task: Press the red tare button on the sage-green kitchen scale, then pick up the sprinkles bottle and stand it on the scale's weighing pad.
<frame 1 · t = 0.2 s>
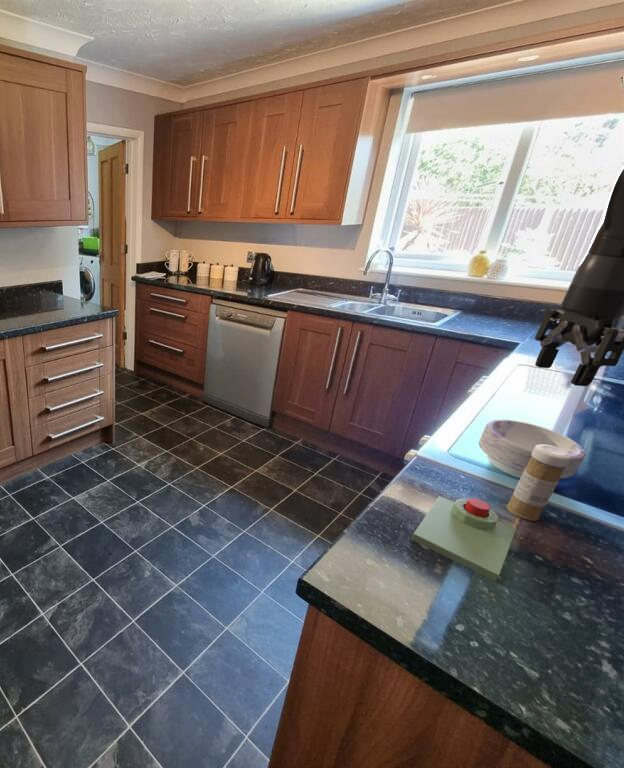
hand: (559, 375, 75), 23 cm above the countertop, tool pointing down, fingers open, 8 cm apart
sprinkles bottle: (521, 514, 77), on the countertop
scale: (462, 537, 71), on the countertop
paper bowls: (517, 469, 90), on the countertop
tare button: (477, 507, 72), point 4 cm above the countertop, slide at 0.1 cm
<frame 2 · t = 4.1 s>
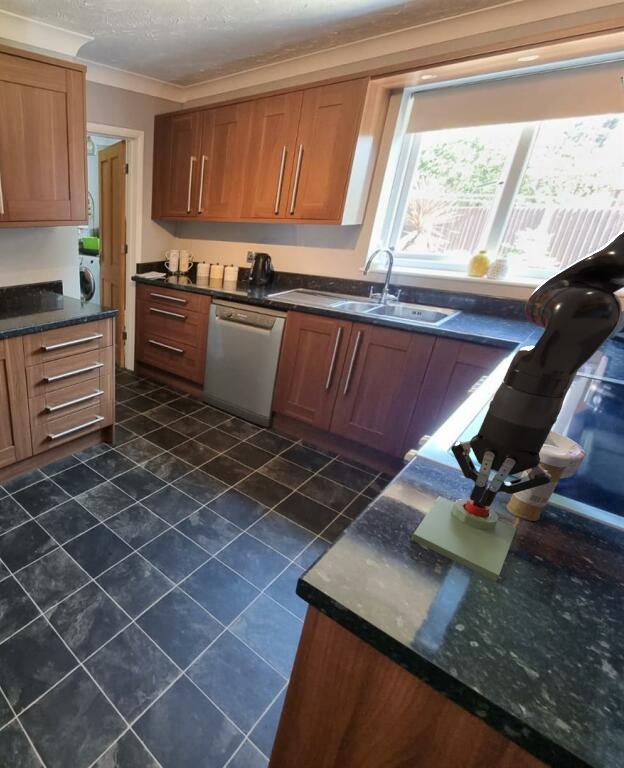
hand: (478, 503, 72), 4 cm above the countertop, tool pointing down, fingers closed
tare button: (477, 508, 72), point 3 cm above the countertop, slide at 0.1 cm, touching gripper
everything else where it was.
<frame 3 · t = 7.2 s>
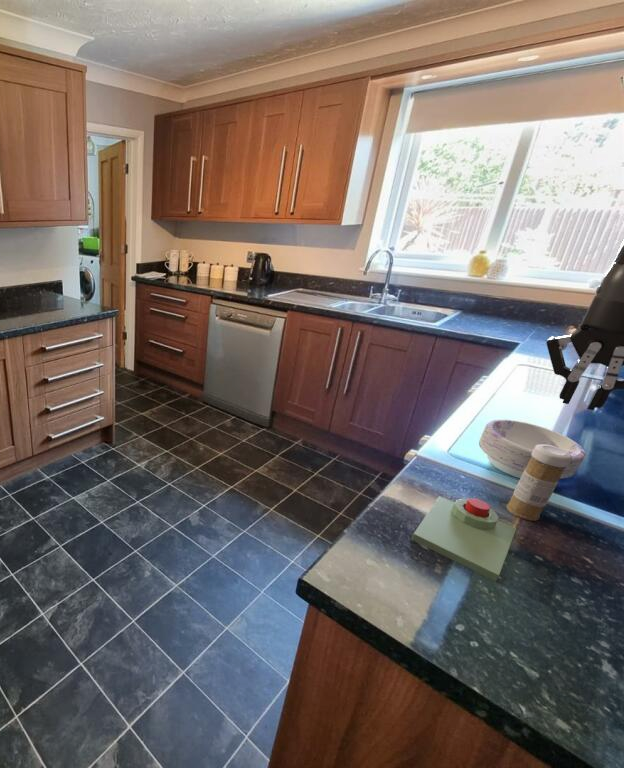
hand: (577, 404, 68), 22 cm above the countertop, tool pointing down, fingers closed
tare button: (477, 507, 72), point 4 cm above the countertop, slide at 0.1 cm
everything else where it was.
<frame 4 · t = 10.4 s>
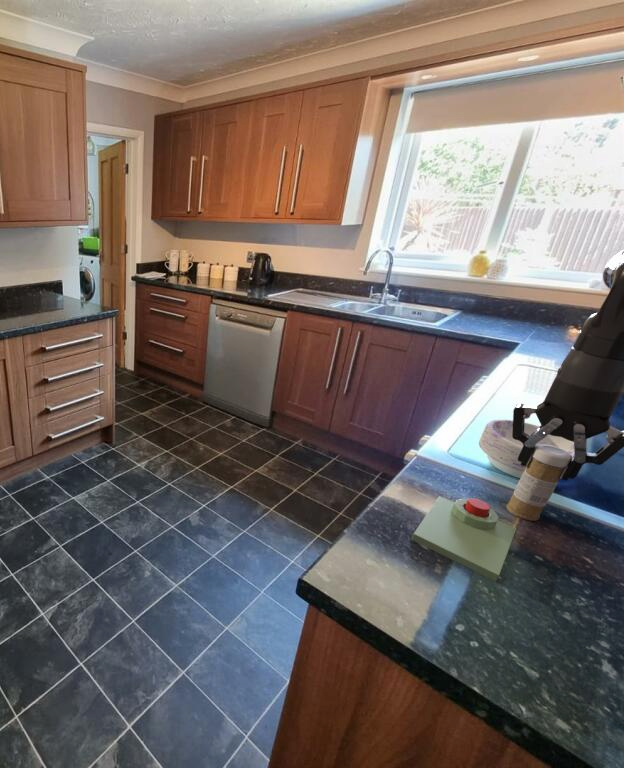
hand: (543, 470, 73), 9 cm above the countertop, tool pointing down, fingers closed on sprinkles bottle, 4 cm apart
sprinkles bottle: (520, 514, 77), on the countertop, touching gripper
everything else where it was.
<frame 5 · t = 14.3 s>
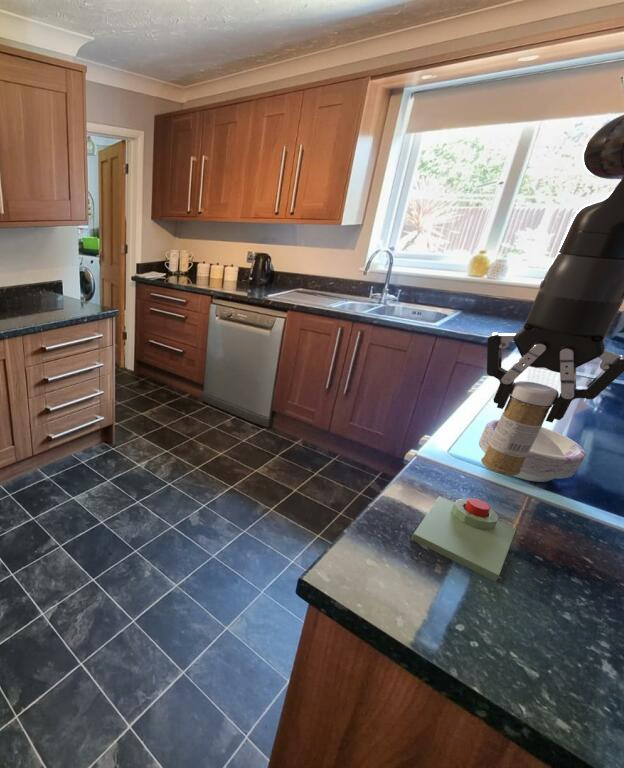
hand: (524, 412, 60), 24 cm above the countertop, tool pointing down, fingers closed on sprinkles bottle, 4 cm apart
sprinkles bottle: (498, 468, 64), point 15 cm above the countertop, touching gripper
everything else where it was.
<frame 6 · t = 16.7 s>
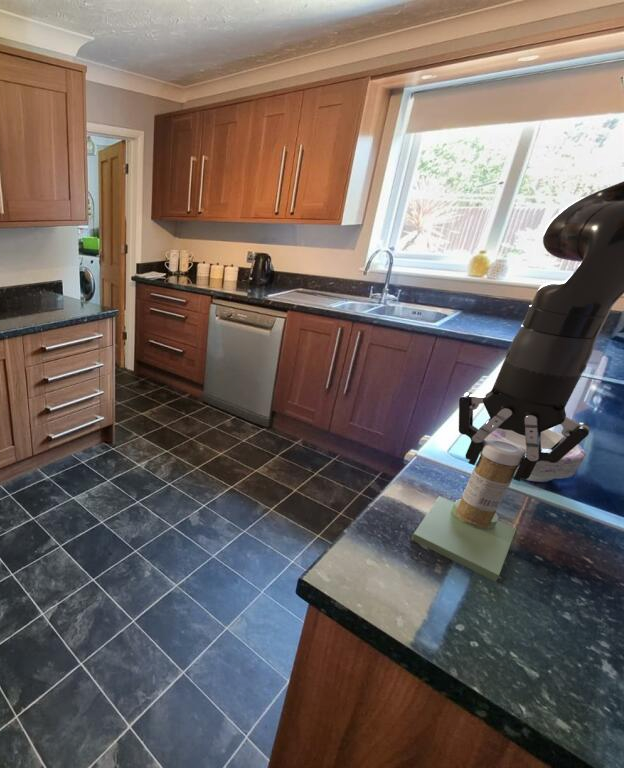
hand: (494, 469, 63), 15 cm above the countertop, tool pointing down, fingers closed on sprinkles bottle, 4 cm apart
sprinkles bottle: (471, 519, 67), point 5 cm above the countertop, touching gripper
everything else where it was.
when the fingers open (11 cm above the countertop, at t = 18.5 s): sprinkles bottle stays where it is, resting on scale.
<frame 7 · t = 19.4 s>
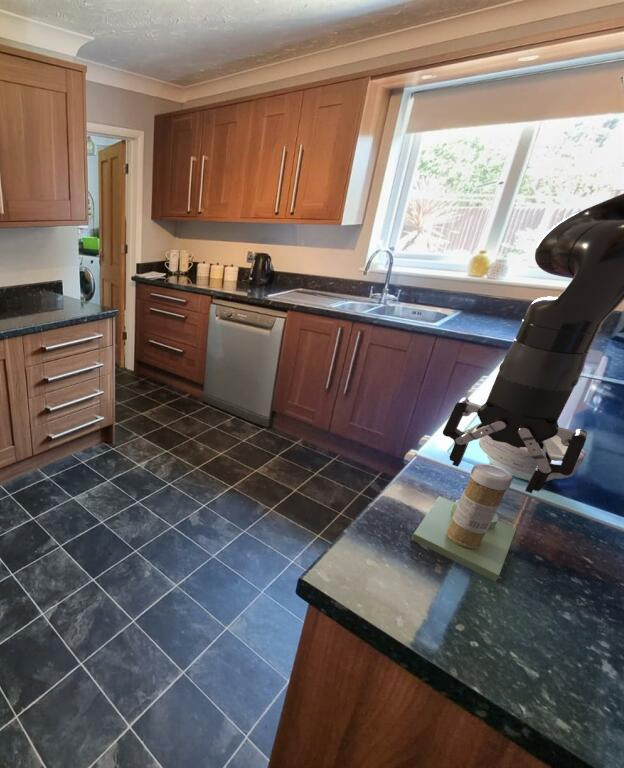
hand: (490, 476, 63), 14 cm above the countertop, tool pointing down, fingers open, 8 cm apart
sprinkles bottle: (461, 540, 68), point 1 cm above the countertop, touching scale
everything else where it was.
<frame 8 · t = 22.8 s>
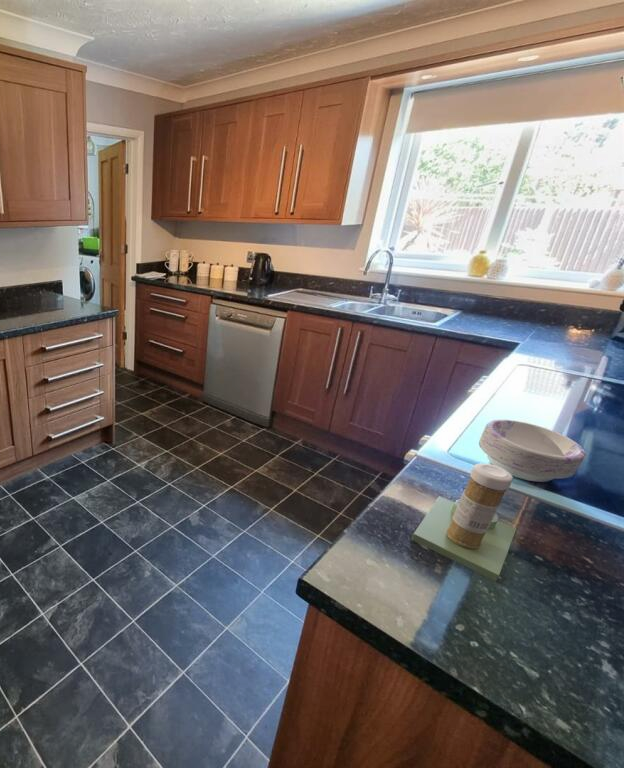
nothing on the countertop moved.
at the end: tare button pushed in 0.9 cm at the most during the clip, back to where it started at the end; sprinkles bottle inside the target area on the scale (0.1 cm from its centre), point 1.2 cm above the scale's base; sprinkles bottle touching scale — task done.
